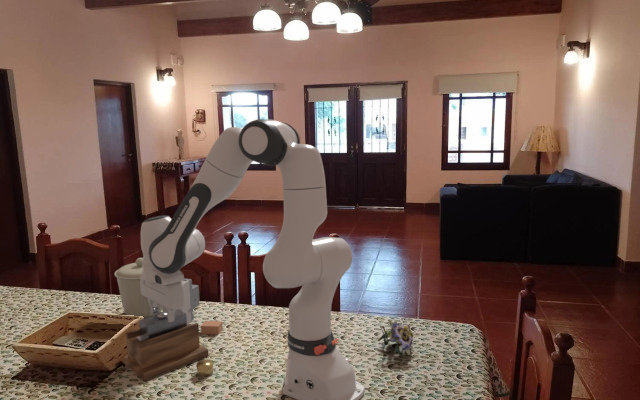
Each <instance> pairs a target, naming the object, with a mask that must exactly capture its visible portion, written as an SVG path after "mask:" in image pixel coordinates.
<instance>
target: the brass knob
mask: <svg viewBox="0 0 640 400" xmlns="http://www.w3.org/2000/svg"><path fill="white" fill-rule="evenodd" d="M196 373H197V376H198V377H199V378H208V377H210V376H212V375H213V374H214V363H213V360H211V359H200V360H198V362H197V363H196Z"/></svg>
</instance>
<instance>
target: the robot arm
mask: <svg viewBox="0 0 640 400" xmlns="http://www.w3.org/2000/svg"><path fill="white" fill-rule="evenodd" d="M253 162H256V163H258V164H263V165H267V166H270V167H278V169H279V171H280V174H281V178H282V181H281V182H282V192H283V194H282V195H283V197H282V198H283V222H282V225H281V226H282V227H281V229H280V232H279V234H278V238H277V240H276V242H275V243H274V245H273V246H272V248H270V249H269V250H268V252H266V254H265V256H264V257H263V262H262V271H263V275H264V278H265V280H266V281H267V282H268V284H270V285H271V286H272V288H275V289H294V288H298V287H301V288H300V290H299V291H298V293H297V294H296V295H295V296H294V297H293V298H292V299H291V301H290V303H289V305H288V327H289V328H288V332H287V337H286V339H287V346H288V355H287V360H286V367H285V369H286V370H285V376H284V379H283V384H284V386H283V387H282V394H283V395H285V396H288V397H290V398H293V399H295V400H360V399H361V398H362V397H363V395H364V394H365V391H366V390H365V386H364V385H362V383H360V382H359V381H358V380H357V379H356V375H355V369H354V368H353V366H352V365H351V363H350V359H348V358H347V357H346V358H345V356H344V355H343V354H342V353H341V351H340V350H339V349H338V348H337V344H338V343H339V341H338V340H339V338H336V339H335V338H334V334H333V331H332V329H331V328H332V327H331V323H332V321H331V320H332V318H331V317H332V316H331V314H332V304H333V299H334V296H335V293H336V291H337V288H338V285H339V283H340V281H341V279H342V278H343V276H344V275H346V274H345V273H347V272H348V270H349V269H350V268H351V266H352V262H353V251H352V249H351V246H350V244H348V242H347V240H345V239H344V238H341V237H333V236H332V237H331V236H326V237H325V236H324V237H319V238H315V239H314V235H315V233H316V231H317V229H318V228H319V227H320V226H321V225H322V224H323V223H324V222H325V220H326V219H327V216H328V203H327V200H328V199H327V186H326V185H327V184H326V175H325V169H324V164H323V159H322V155H321V152H320V151H319V149H318V148H316V147H315V146H313V145H311V144H306V143H301V139H300V135H299V132H298V131H297V130H296V129H295V128H294V126H292V125H290V124H289V123H286V122H283V121H282V122H281V121H279V120H275V119H263V118H259V119H255V120H254V119H253V120H252V121H249V122H248V123H246V124H245V125H244V126H243V127H242V128H241V127H237V126H236V127H235V126H232V127H227V128H226V129H224V130H223V131H222V133H221V134H220V135H219V136H218V138H217V139H216V140H215V142H214V143H213V145H212V147H211V148H210V150H209V152H208V154H207V156H206V158H205V160H204V162H203V164H202V165H201V168H200V169H199V171H198V174H197V175H196V178H195V179H194V181H193V183H192V184H191V186H190V188H189V189H188V192H187V193H186V195H185V196H184V197H183V199H182V201H181V203H180V204H179V206H178V208H177V210H176V211H175V212H174V214H173V216H172V218H171V217H170V215H163V214H162V215H158V216H157V215H156V216H152V217H149V218H147V219H145V220H144V221H142V223H141V227H140V248H141V251H142V256H143V257H142V258H143V261H142V265H143V273H142V274H141V277H140V290H141V294H142V296H144V297H146V298H148V302H149V304H150V307H151V312H152V313H154V314H155V313H158V312H159V307H158V306H157V304H159V305H161V306H163V307H165V308H167V311H168V315H166V321H168V322H173V321H174V315H175V312H176V310H179V309H181V308H182V307H183V305H184V288H183V284H182V282H181V281H183V280H184V279H185V276H184V273H183V272H182V271H181V269H182V268H183V267H184V266H185V267H186V265H188V264H189V263H192V262H193V261H194V260H196V259H198V258H199V257H200V256H201V255H203V254H204V252H205V251H206V238H205V236H204V234H203V233H202V232H201V231H200V230H199V229H198V228H197V226H198V225H199V222H200V221H201V220H202V218H203V217H204V216H205V214H206V213H208V211H210V210H211V209H213V208H214V207H215V206H217V205H218V204H220V203H221V202H223V201H225V200H226V199H228V198H230V197H231V196H232V194H233V193H234V192H235V191H236V189H238V187H239V186H240V184H241V182H242V180H243V178H244V177H245V174H246V173H247V170H248V168H249V167H250V165H251V164H252V163H253Z"/></svg>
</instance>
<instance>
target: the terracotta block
mask: <svg viewBox="0 0 640 400" xmlns="http://www.w3.org/2000/svg"><path fill="white" fill-rule="evenodd" d="M222 331H223V321H222V320H221V321H217V320H216V321H215V320H205V321H204V322H202V324H201V325H200V333H201V334H203V335H220V334H221V332H222Z"/></svg>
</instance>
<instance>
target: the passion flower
mask: <svg viewBox="0 0 640 400" xmlns="http://www.w3.org/2000/svg"><path fill="white" fill-rule="evenodd" d="M388 323H389V326H390V328H391V329H390V330H389V329H388V330H386V328H385V326H384V325H382V326H381V328H380V329H381V332H382V335H381V336H380V337H379V338H378V339H377V342H380V341H381V340H383V345H382V349H384V348H385V346H388V344H389V342H391V343H394V342H395V343H396V344H397V345H396V347H395V350H396V352H397V353H398V354H400V355H402V356H403V357H404V356H410V355H411V354H410V353H411V352H410V349H411V348H413V347H414V345H413V342H414V333H413V332H412V330H411V326H410V325H402V324H403V323H398V320H397V319H395V320H394V322H393V321H392V320H390V319H389V321H388Z"/></svg>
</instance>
